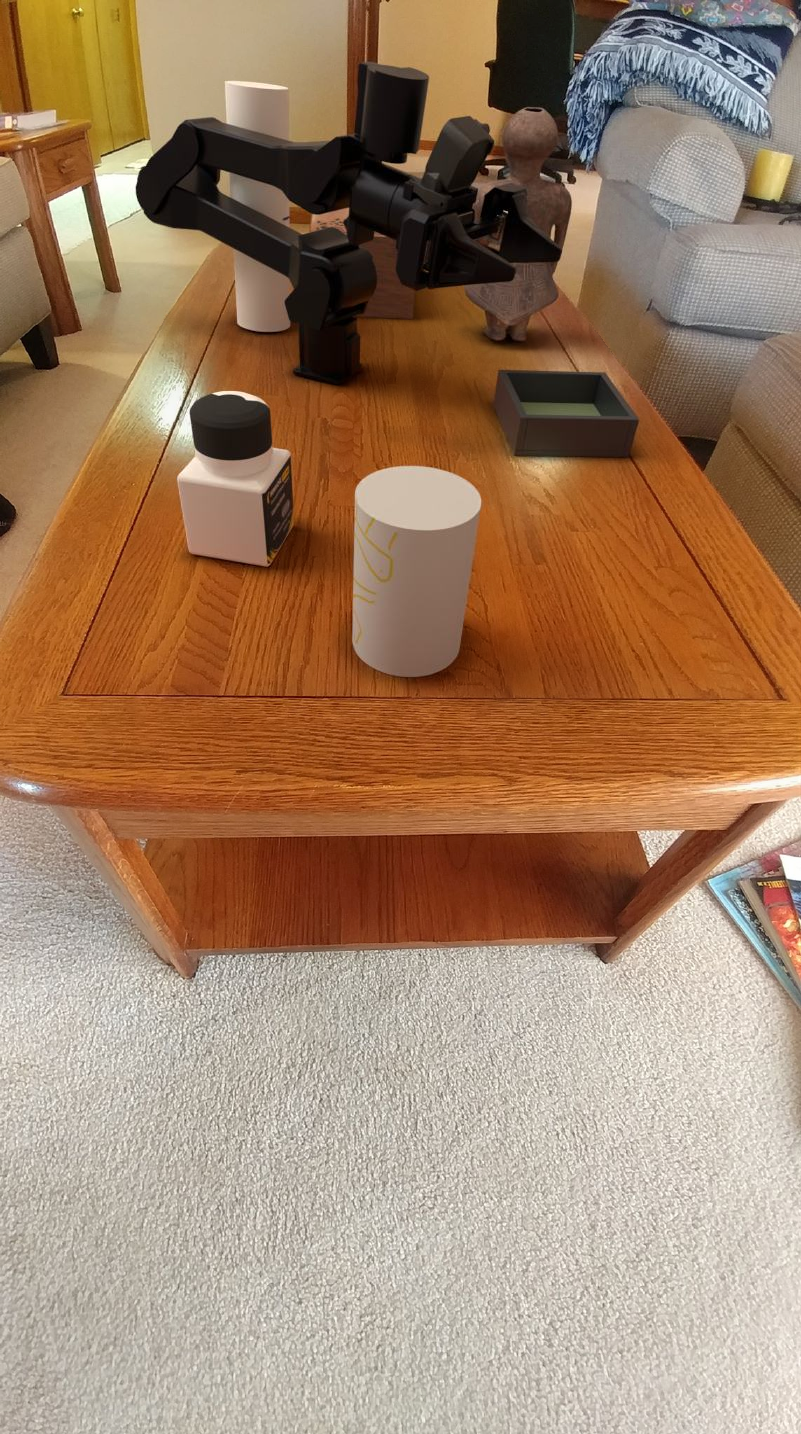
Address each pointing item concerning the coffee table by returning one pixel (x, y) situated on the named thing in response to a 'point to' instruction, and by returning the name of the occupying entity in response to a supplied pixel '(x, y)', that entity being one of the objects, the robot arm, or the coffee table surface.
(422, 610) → the yellow-doodled white cylinder
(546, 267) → the clay figurine
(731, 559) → the coffee table surface
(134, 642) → the coffee table surface
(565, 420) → the holder
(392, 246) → the tissue box cover
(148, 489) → the coffee table surface
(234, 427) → the medicine bottle
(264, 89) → the cylindrical container
